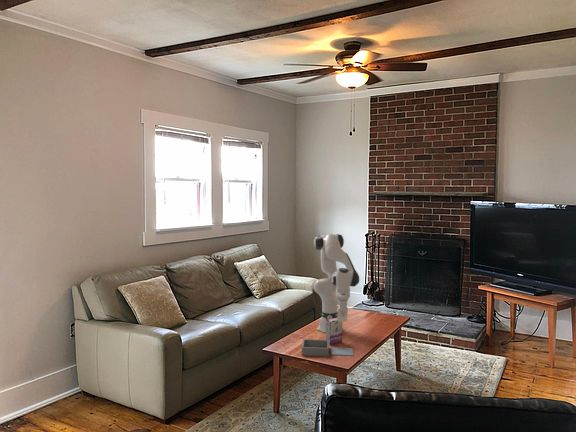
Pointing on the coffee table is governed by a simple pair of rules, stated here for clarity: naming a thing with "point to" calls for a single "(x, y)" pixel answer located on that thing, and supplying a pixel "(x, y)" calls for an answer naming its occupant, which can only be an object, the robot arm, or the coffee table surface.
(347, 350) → the coaster board
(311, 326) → the coffee table surface
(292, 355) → the coffee table surface
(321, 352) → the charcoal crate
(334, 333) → the candy bar box
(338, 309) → the cream block
